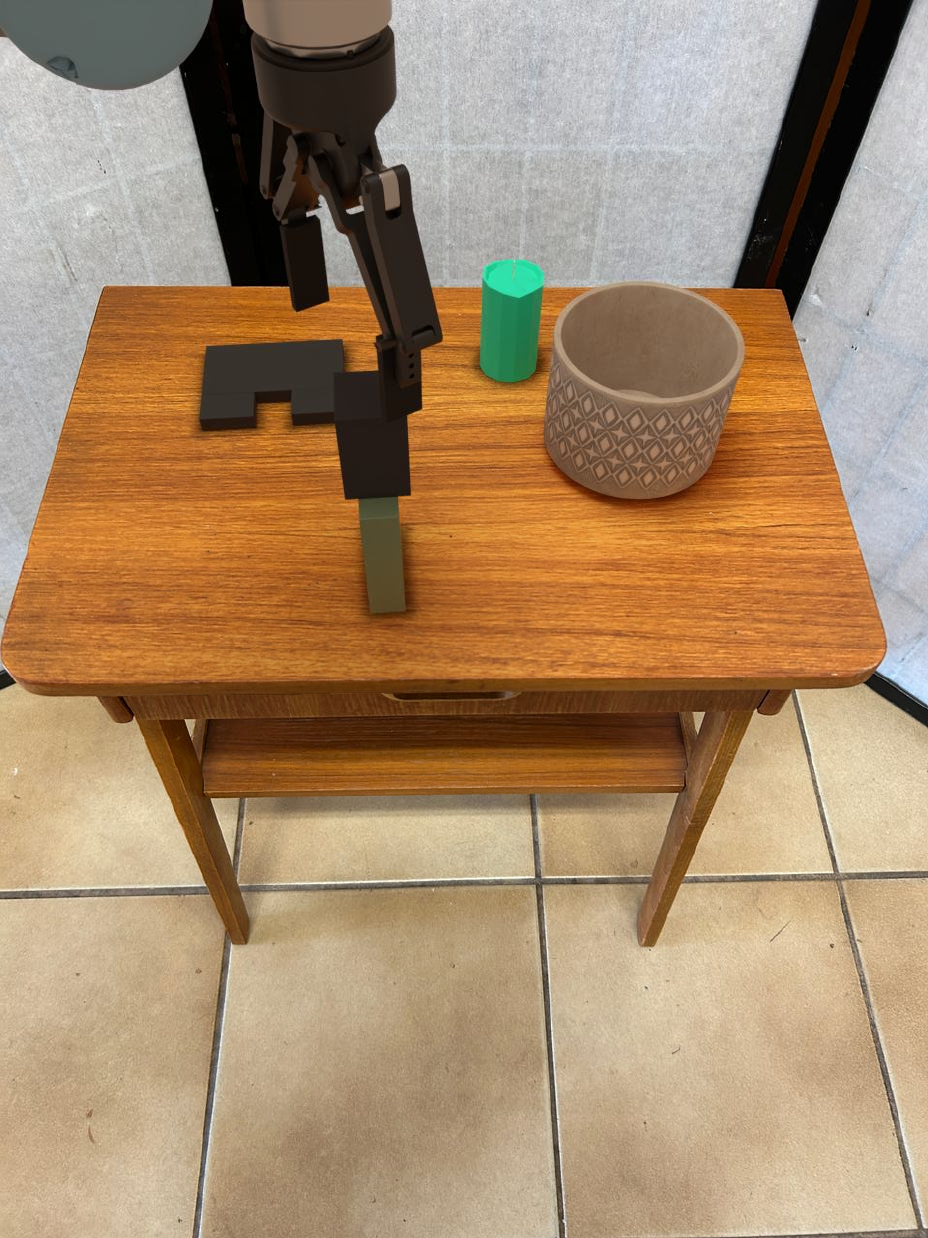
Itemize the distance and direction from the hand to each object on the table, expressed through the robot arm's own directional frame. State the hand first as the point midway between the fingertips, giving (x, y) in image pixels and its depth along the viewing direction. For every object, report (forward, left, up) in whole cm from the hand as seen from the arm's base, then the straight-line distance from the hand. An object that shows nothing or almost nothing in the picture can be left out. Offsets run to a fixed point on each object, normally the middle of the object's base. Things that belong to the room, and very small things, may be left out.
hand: (354, 356), depth 67 cm
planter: (+25, +11, -22) cm, 35 cm away
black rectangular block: (+1, -1, -9) cm, 9 cm away
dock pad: (-9, +22, -21) cm, 32 cm away
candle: (+15, +24, -22) cm, 36 cm away
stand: (+1, -2, -21) cm, 22 cm away
